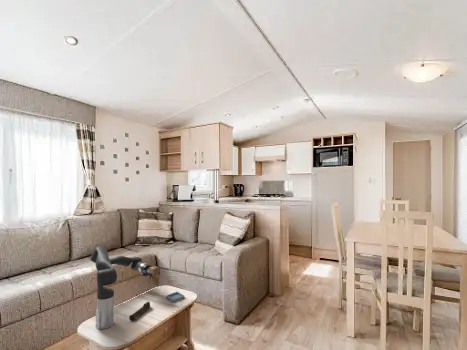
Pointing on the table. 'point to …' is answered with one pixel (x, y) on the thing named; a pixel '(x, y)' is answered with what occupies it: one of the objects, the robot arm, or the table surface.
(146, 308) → the brown rough rod
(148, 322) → the table surface
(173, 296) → the tray
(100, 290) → the robot arm
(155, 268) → the walnut block
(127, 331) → the table surface
